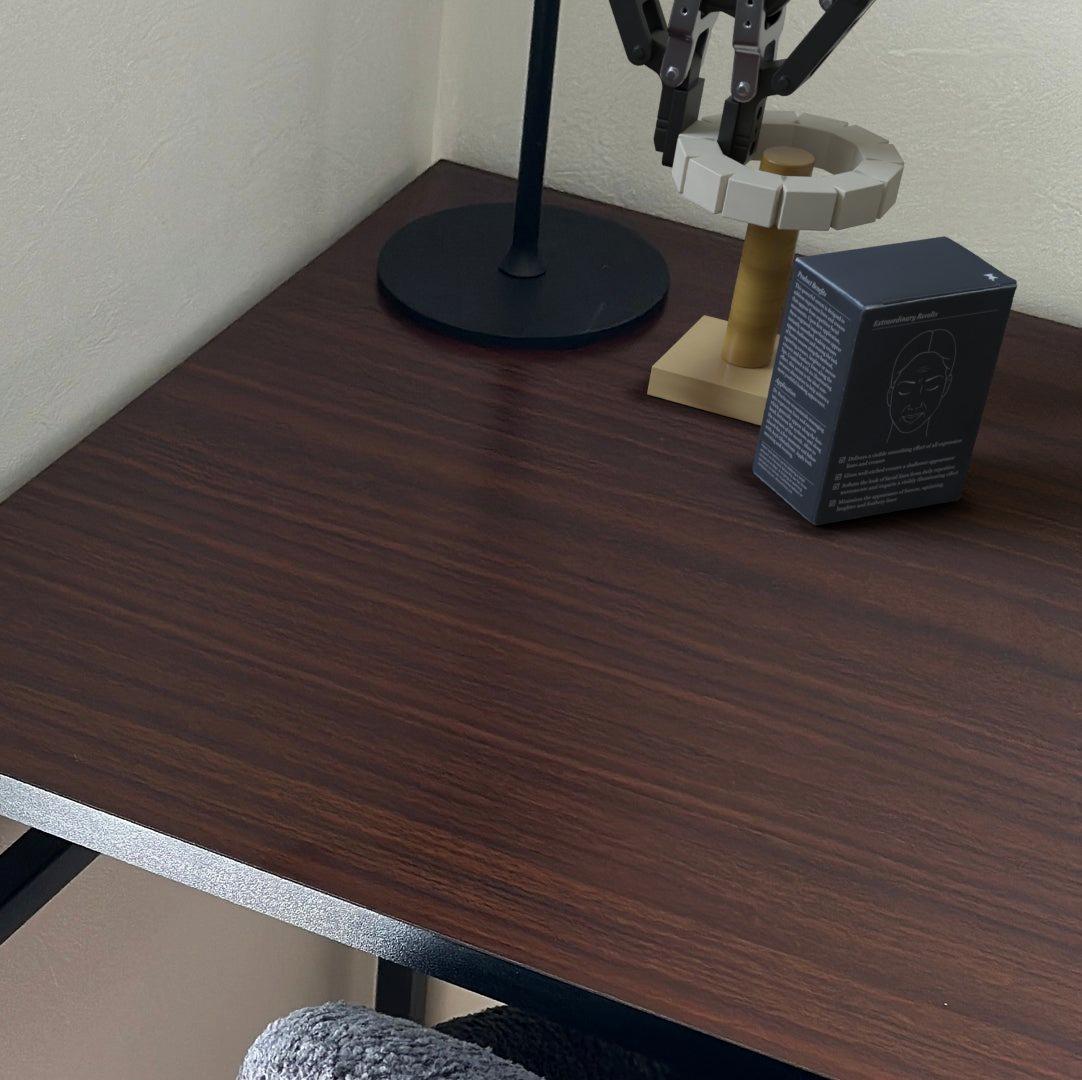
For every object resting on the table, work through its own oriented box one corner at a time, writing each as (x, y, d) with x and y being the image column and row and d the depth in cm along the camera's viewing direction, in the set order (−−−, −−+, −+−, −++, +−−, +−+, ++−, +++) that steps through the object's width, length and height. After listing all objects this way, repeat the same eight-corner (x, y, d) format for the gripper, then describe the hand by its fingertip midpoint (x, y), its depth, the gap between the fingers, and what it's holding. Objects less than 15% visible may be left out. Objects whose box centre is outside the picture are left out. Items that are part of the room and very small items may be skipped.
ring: (920, 177, 111) (930, 139, 110) (853, 248, 104) (862, 209, 103) (718, 132, 115) (725, 94, 114) (641, 198, 108) (647, 159, 107)
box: (891, 448, 111) (947, 231, 105) (961, 505, 107) (1024, 283, 100) (745, 471, 109) (793, 251, 102) (811, 530, 105) (865, 305, 98)
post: (832, 377, 117) (886, 148, 110) (784, 432, 112) (838, 197, 105) (698, 342, 120) (743, 116, 112) (646, 394, 115) (689, 162, 108)
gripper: (960, -228, 100) (867, 175, 111) (654, -275, 105) (595, 114, 116) (906, -190, 95) (815, 227, 106) (588, -241, 100) (532, 161, 111)
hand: (700, 166), depth 111 cm, fingers closed on ring, 2 cm apart
